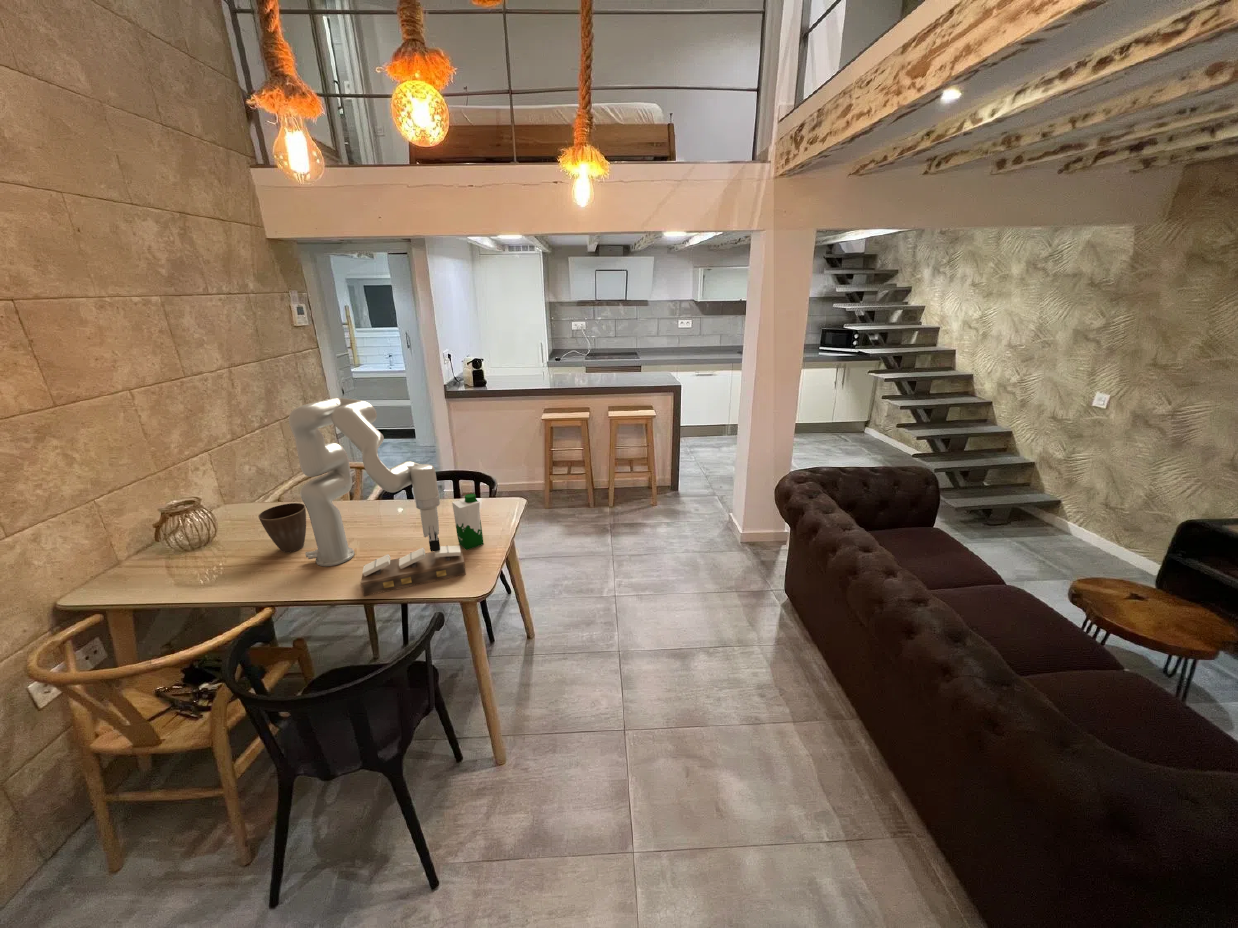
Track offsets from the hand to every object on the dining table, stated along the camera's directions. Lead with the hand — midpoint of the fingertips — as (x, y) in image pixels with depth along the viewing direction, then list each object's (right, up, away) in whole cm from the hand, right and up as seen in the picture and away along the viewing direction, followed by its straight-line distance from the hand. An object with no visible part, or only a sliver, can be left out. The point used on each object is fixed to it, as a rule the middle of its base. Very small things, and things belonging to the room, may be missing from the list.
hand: (435, 549), depth 167 cm
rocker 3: (+3, -2, +2) cm, 4 cm away
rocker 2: (-7, -3, -2) cm, 8 cm away
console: (-7, -9, 0) cm, 11 cm away
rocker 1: (-17, -5, -6) cm, 19 cm away
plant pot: (-64, -3, +22) cm, 68 cm away
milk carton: (+6, -2, +21) cm, 22 cm away
